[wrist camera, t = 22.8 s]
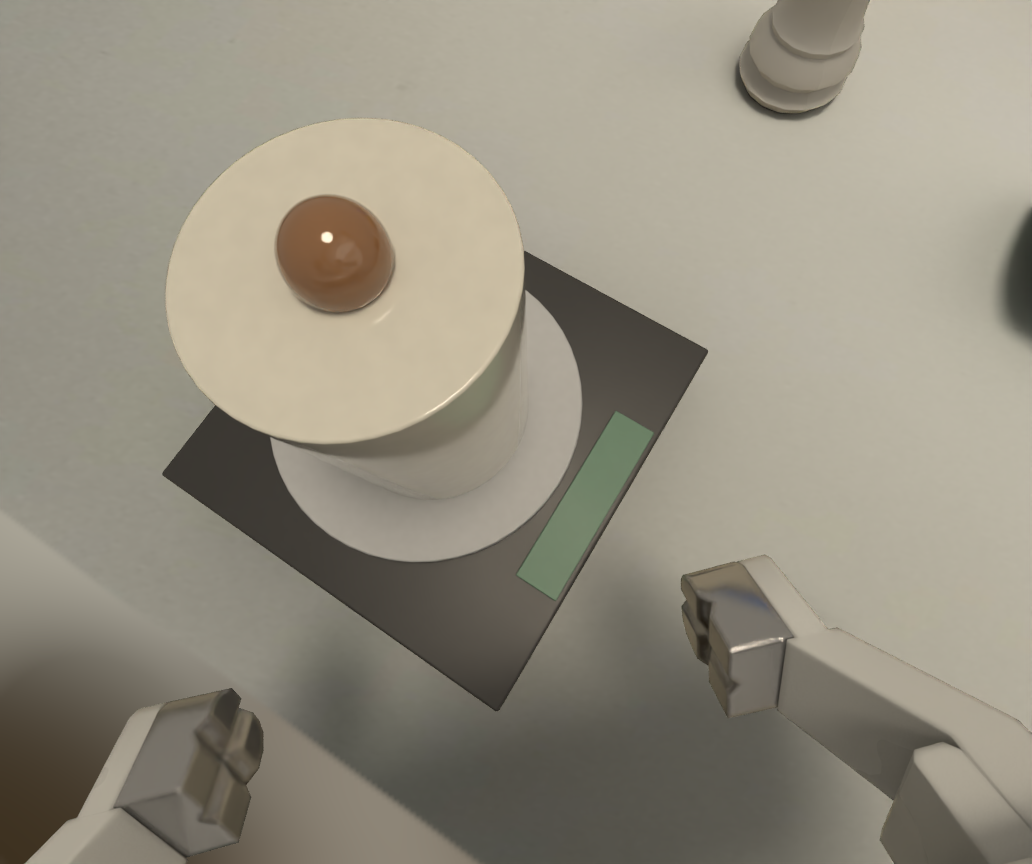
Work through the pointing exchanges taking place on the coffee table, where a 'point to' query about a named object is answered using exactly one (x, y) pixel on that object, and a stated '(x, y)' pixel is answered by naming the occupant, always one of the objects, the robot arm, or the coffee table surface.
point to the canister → (360, 304)
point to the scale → (469, 493)
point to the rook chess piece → (802, 53)
